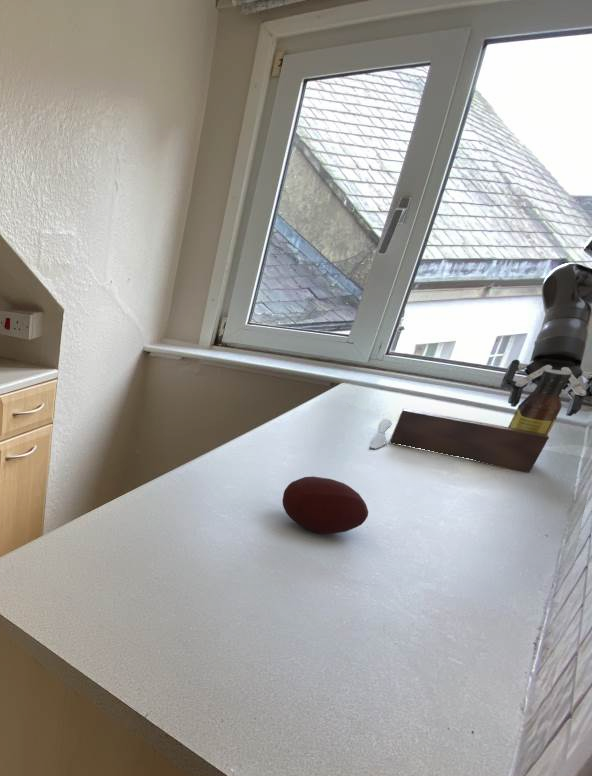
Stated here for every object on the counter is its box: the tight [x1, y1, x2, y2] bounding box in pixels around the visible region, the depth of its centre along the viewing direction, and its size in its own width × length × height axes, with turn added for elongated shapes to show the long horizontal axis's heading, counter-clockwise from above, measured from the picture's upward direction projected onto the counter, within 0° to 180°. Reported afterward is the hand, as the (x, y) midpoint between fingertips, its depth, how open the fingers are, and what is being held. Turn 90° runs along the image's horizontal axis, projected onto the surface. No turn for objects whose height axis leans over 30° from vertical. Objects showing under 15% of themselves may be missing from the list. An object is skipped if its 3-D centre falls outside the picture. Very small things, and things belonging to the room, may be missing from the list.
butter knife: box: [369, 418, 392, 450], centre depth 132 cm, size 1×27×3 cm
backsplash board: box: [389, 407, 550, 474], centre depth 119 cm, size 24×2×8 cm, turn 53°
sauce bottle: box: [507, 369, 571, 436], centre depth 116 cm, size 6×6×20 cm
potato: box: [281, 475, 369, 535], centre depth 89 cm, size 12×11×8 cm
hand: (542, 409), depth 114 cm, fingers open, 8 cm apart
